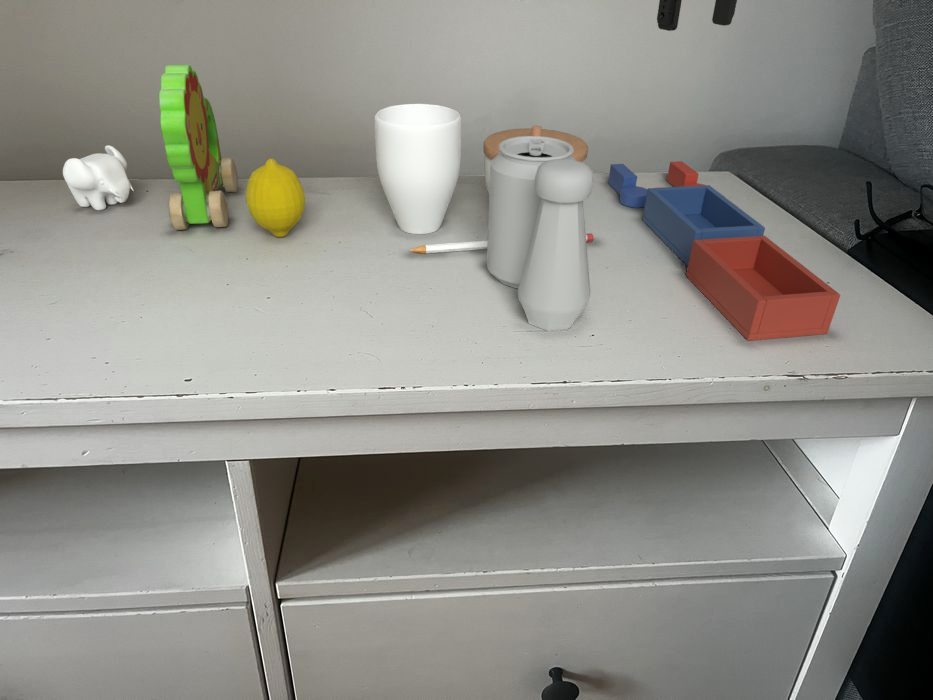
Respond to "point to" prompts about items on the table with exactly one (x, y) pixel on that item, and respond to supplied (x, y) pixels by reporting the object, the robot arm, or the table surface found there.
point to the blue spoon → (627, 186)
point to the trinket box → (495, 139)
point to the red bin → (761, 288)
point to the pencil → (463, 246)
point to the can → (516, 201)
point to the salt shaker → (558, 247)
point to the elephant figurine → (98, 179)
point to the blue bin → (695, 217)
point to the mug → (418, 162)
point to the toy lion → (193, 151)
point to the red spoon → (682, 175)
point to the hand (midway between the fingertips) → (694, 27)
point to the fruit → (275, 198)
